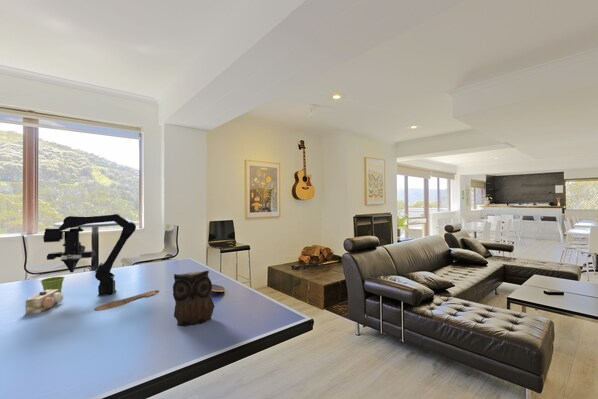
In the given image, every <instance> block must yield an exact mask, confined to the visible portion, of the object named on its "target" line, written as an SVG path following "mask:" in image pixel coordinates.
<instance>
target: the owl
mask: <svg viewBox="0 0 598 399" xmlns="http://www.w3.org/2000/svg"><path fill="white" fill-rule="evenodd" d="M173 279H174V283H173V285H172V292H173V293H172V296H173V299H174V302H175V304H174V312H173V316H174V319H175V320H176V321H177V324H176V326H178V327H185V328H186V327H189V326H195V325H202V324H204V323H205V324H206V323H207V322H209V321H211V320H212V316H213V313H214V309H215V303H214V301H213V298H212V296H211V292H212V291H213V284H212V280H211V279H210V277H209V270H204V271H194V272H186V273H182V274H181V273H180V274H179V273H178V274H176V273H174V274H173Z"/></svg>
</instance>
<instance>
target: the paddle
mask: <svg viewBox="0 0 598 399" xmlns="http://www.w3.org/2000/svg"><path fill="white" fill-rule="evenodd" d="M157 293H160V290H159V289H155V290H150V291H147V292H144V293H139V294H136V295H133V296H130V297H126V298H123V299H117V300H114V301H109V302H106V303H104V304H99V305H98V306H96V307H94V308H93V311H95V312H99V311H105V310H111V309H114V308H117V307H121V306H123V305H126V304H128V303H131V302H134V301H137V300H139V299H143V298H149V297H153V296H156V295H158V294H157Z"/></svg>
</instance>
